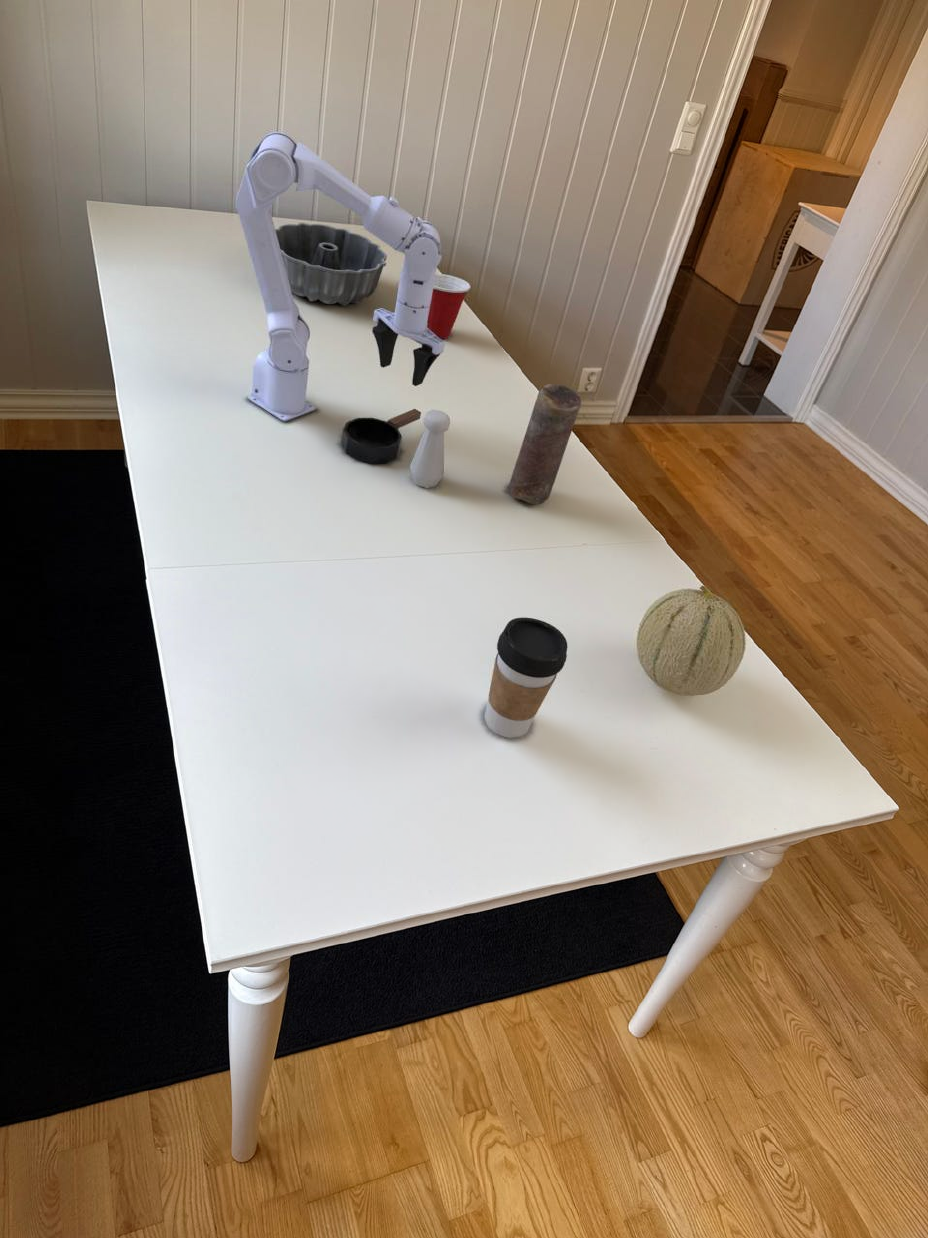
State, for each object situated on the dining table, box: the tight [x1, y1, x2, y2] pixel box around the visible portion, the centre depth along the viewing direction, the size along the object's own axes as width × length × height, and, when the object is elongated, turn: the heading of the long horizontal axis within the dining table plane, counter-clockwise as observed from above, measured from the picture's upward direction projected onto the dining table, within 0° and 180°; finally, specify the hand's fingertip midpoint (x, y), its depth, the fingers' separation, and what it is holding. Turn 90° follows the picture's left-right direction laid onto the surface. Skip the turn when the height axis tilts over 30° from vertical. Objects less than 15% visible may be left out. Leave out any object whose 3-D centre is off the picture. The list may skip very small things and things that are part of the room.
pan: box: [340, 408, 422, 465], centre depth 156 cm, size 17×10×4 cm, turn 143°
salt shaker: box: [409, 409, 451, 489], centre depth 146 cm, size 6×6×13 cm
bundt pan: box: [275, 222, 388, 306], centre depth 198 cm, size 26×26×10 cm
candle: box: [507, 383, 582, 505], centre depth 147 cm, size 8×7×20 cm
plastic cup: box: [427, 273, 471, 340], centre depth 193 cm, size 11×11×12 cm
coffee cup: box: [484, 617, 568, 739], centre depth 108 cm, size 8×8×15 cm
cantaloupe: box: [636, 585, 747, 697], centre depth 121 cm, size 15×15×15 cm
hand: (401, 374), depth 156 cm, fingers open, 7 cm apart
